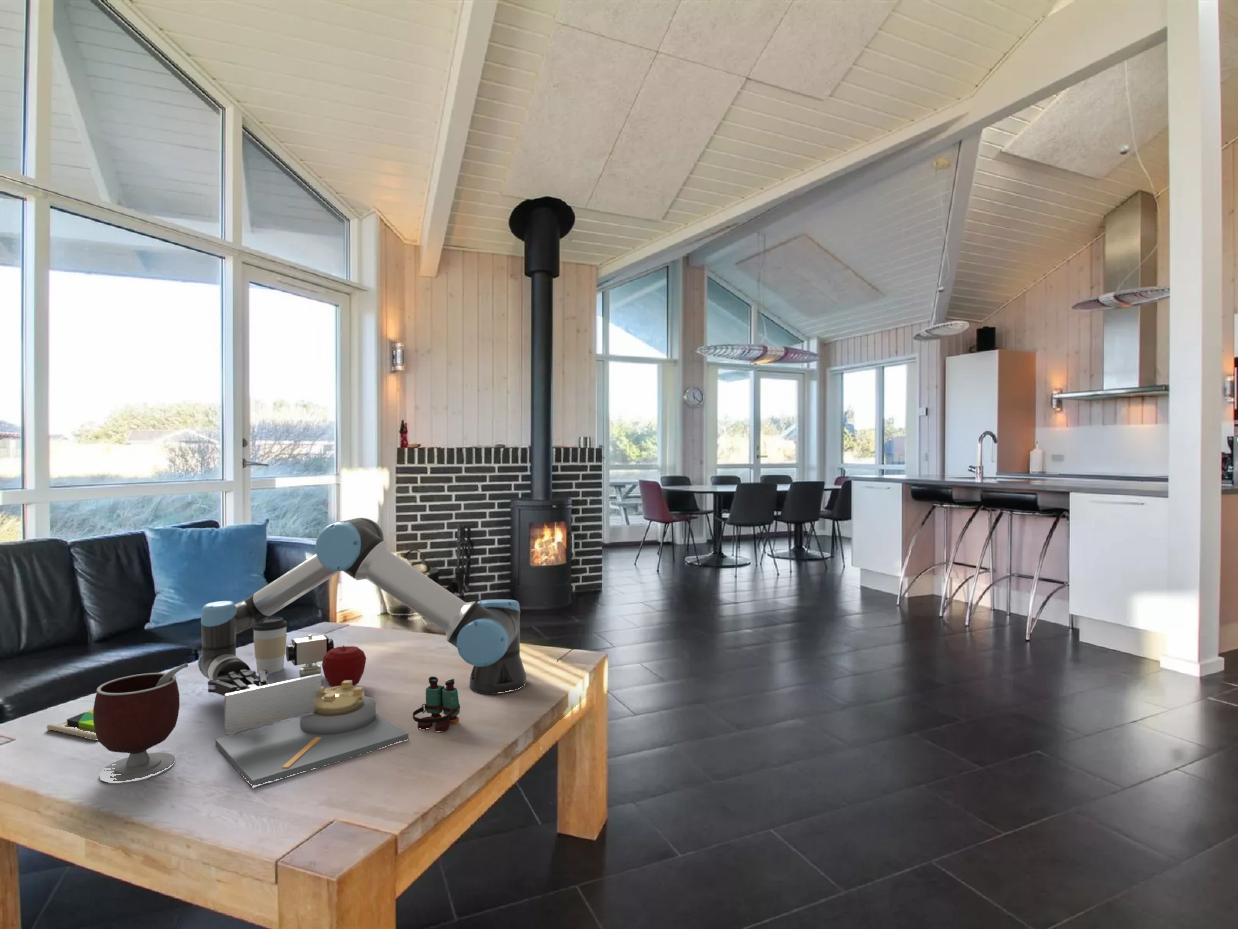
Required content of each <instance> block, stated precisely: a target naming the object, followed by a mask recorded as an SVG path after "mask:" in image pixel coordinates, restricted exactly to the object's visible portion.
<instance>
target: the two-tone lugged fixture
mask: <svg viewBox="0 0 1238 929" xmlns="http://www.w3.org/2000/svg"><path fill="white" fill-rule="evenodd" d="M322 684H323V683H322V674H315V675H311V676H306V677H298V678H293V679H289V680H288V679H287V680H284V681H279V682H275V683H271V684H267V685H264V686H260V687H255V688H251V689H246V690H241V691H237V692H232V693H227V694H225V696H224V734H225V735H226V736H228V735H230V734H231V735H232V734H236V733H240V732H244V731H248V730H252V729H255V728H259V727H263V726H267V725H271V724H275V723H279V722H281V721H282V722H283V721H287V720H291V719H293V718H294V719H295V718H299V717H300V716H302V715H306V714H310V713H315V714H318V715H324V716H333V715H342V714H347V713H350V712H353V711H356V710H358V709H360V708H361V707H363V706H364V696H365V687H364V686H358V685H355V686H352V680H345V681H343V682H342V686H335V687H331V686H329V687H326V688H325V686H322Z"/></svg>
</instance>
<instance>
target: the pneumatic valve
mask: <svg viewBox="0 0 1238 929" xmlns="http://www.w3.org/2000/svg"><path fill="white" fill-rule="evenodd" d="M334 643H335V642H334V639H333V638H329V637H328V636H327V635H326V634H322V635H315V636H313V634H308V637H306V636H305V637H302V638H301V637H299V638H293V639H291V642H290V643H289V644H286V650H285V658H286V662H291V663H292V664H293V666H301V668H300V669H299V671H298V672H299V678H302V677H306V676H311V675H315V674H321V673H322V665H317V664H318V663H319V662H320V663H321V662H323V658H324V656H325V654H326V653H327V652H328V651H330V650H331V649H333V648H335V645H334ZM321 675H322V674H321Z"/></svg>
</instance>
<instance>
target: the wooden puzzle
mask: <svg viewBox="0 0 1238 929" xmlns="http://www.w3.org/2000/svg"><path fill="white" fill-rule="evenodd" d="M61 724H66V725H64V726H65V727H74V728H75V727H77V728H78V729H80V730H83V731H80V730H75V729H70V728H65V727H62V726H59V725H61ZM46 729H47V730H48V729H49V730H48V731H51V730H54V731H53V732H55V731H60V732H64V733H63V734H65V733H68V734H67V735H69V734H73V735H77V736H76V737H78V736H81V737H80V738H82V737H87V738H91V739H97V736H96V735H95V734H92V733H88V732H84V731H90V732H94V733H96V732H95V727H94V722H93V708H92V709H90V710H88V711H85V712H82V713H78V714H77V715H74V716H72V717H70V718H67V719H66V721H63V723H59V724H57V726H56V725H55V724H50V723H49V724H47V725H46ZM60 732H59V733H60ZM73 735H72V736H73ZM91 739H90V740H91Z"/></svg>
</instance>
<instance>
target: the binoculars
mask: <svg viewBox="0 0 1238 929" xmlns="http://www.w3.org/2000/svg"><path fill="white" fill-rule="evenodd" d="M438 682H439V678H438V677H437V676H430V677H428V683H429V685H428V686H427V687H426V688H425V703H422V705H421V707H419V708H418V709H415V710H414V711H413V712H412V719H413V720H414V722H416V723H417V728H418V729H419V728H421V729H426V728H430V727H431V728H432V727H433V724H434V730H436V731H443V732H445V731H447V730H449V729H450V727H451V725H455V724H459V720H460V719H459V716H458V715H459V714H460V713H461V711H460V710H461V704H460V700H459V692H458V689H457V687H455V686H454V685H455V679H454V678H451V679H448V680H447V681H445V682H444V683H445V684H444V685H445V686H444V685H439V684H438ZM421 713H422V714H425V713H426V714H430V716H424V717H417V716H416V715H418V714H421ZM441 713H443V715H444V716H443V715H442V714H441ZM431 728H430V729H431ZM436 731H435V732H436Z"/></svg>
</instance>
